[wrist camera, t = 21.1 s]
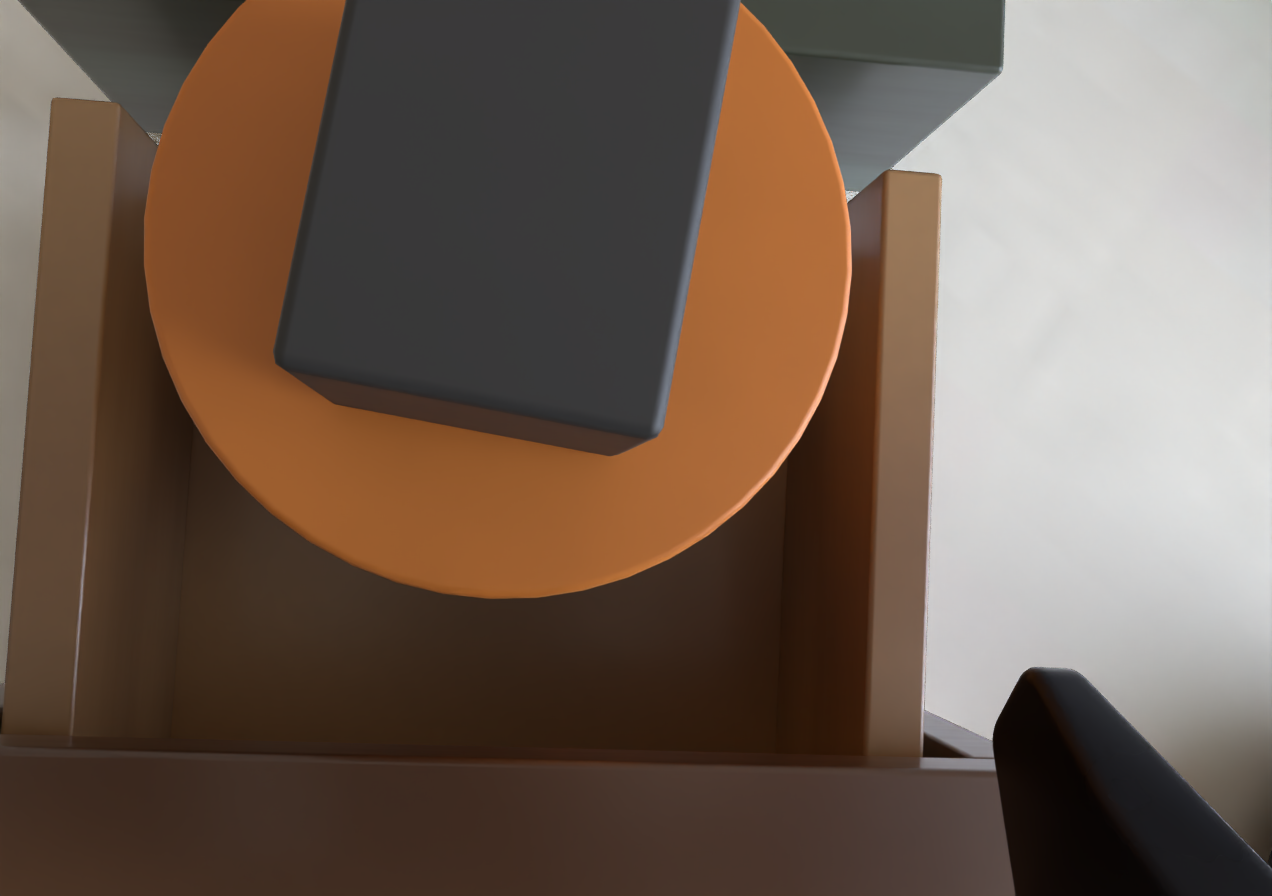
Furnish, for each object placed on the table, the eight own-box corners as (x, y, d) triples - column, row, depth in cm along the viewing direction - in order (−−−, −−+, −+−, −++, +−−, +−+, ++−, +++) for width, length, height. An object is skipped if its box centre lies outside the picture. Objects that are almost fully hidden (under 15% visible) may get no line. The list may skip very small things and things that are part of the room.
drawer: (163, -212, 20) (29, -506, 14) (877, -129, 21) (1019, -364, 16) (84, 828, 19) (-95, 968, 13) (841, 841, 20) (979, 971, 15)
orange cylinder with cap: (619, 573, 19) (890, 702, 6) (318, 519, 18) (-82, 537, 6) (672, 283, 19) (1033, -176, 6) (378, 222, 19) (133, -408, 6)
